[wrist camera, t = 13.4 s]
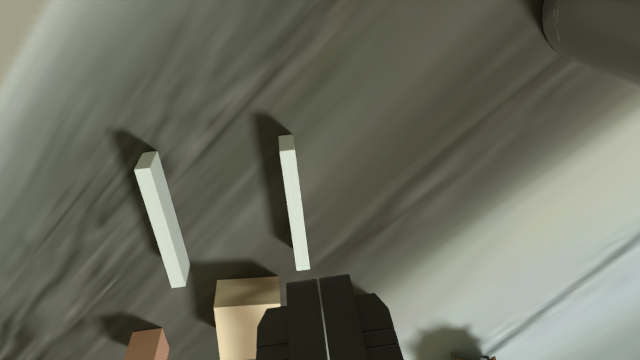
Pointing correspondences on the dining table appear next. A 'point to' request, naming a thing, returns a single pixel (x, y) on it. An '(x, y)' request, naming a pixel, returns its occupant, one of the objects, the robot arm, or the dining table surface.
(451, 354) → the game die
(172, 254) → the white blocks
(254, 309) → the maple block
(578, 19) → the robot arm
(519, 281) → the dining table surface
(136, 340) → the gate posts
